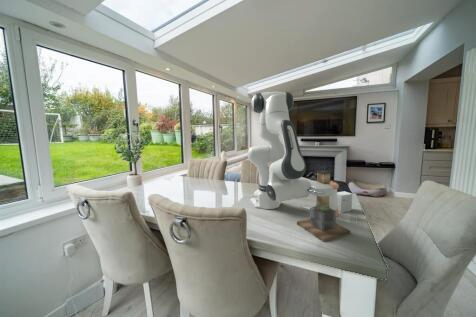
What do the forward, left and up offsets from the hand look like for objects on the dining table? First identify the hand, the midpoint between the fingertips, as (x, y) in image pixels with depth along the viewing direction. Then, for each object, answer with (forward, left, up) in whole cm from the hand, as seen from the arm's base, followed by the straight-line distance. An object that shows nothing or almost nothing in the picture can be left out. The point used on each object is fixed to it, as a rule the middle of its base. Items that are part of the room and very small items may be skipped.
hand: (324, 183), depth 94 cm
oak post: (0, -1, -15) cm, 15 cm away
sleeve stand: (0, -1, -22) cm, 22 cm away
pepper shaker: (-11, +16, -22) cm, 30 cm away
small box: (-12, +26, -23) cm, 37 cm away
